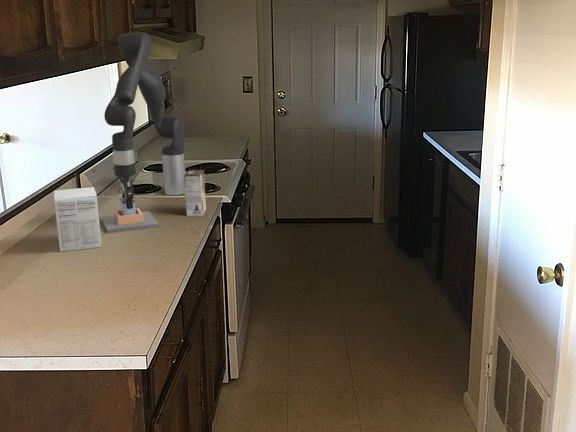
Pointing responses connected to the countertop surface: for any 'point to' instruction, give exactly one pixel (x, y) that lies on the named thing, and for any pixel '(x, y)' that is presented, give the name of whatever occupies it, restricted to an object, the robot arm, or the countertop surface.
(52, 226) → the countertop surface
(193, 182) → the coffee box
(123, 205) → the plug
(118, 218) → the socket dock
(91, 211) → the supplement box
